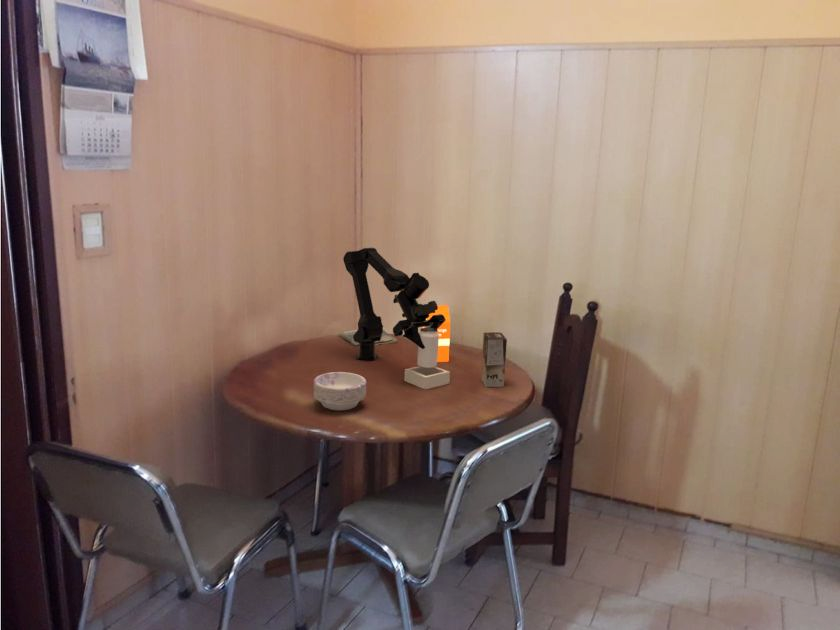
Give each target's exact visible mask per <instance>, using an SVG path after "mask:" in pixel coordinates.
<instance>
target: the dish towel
mask: <svg viewBox="0 0 840 630" xmlns="http://www.w3.org/2000/svg"><path fill="white" fill-rule="evenodd" d="M357 330H358V329H354V330H347V331H342V332H339V334H338V336H339V337H340V338H341V337H342V338H341V339H343V340H344V339H345V340H344V341H346V342H347V341H348V342H347V343H349V342H350V343H351V344H350V343H349V344H350V345H352V344H353V345H352V346H354V347H356V348H359V347H358V346H359V343H357V342H354V338H353V335H354V334H355V333H356V331H357ZM396 342H397V343H398V340H397V338H396V337H394V336H392V335H391V334H390V333H388V332H386V330H384V329H383V333H382V336H381V340H380V341H375V346H380V345H379V344H382V345H389V343H391V344H397V343H396Z"/></svg>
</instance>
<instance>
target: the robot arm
mask: <svg viewBox="0 0 840 630" xmlns="http://www.w3.org/2000/svg"><path fill="white" fill-rule="evenodd" d="M342 261H343V262H344V263H343V264H344V266H345V270H346V271H347V272H348V273H349V275H350V276H351V277H352V283H353V287H354V292H355V294H356V295H355V296H356V300H357V305H358V310H359V319H358V321H357V328H358V329H356V330H357V331H356V333H355V334H354V335H353V338H354V342H357V343H359V347H358V355H356V358H355V359H356V360H363V361H374V360H375V359H376V358H377V357H378V354H376V351H375V350H376V345H375V341H380V340H381V336H382V333H383V330H384V325H383V323H382V322H383V321H382V317H381V316H380V315H377V314H376V313H375V311H374V306H373V301H372V297H371V292H370V287H369V283H368V278H367V272H368V269H369V265H370V266H371V267H372V268H373V269H374V271H376V273H377V274H378V275H380V277H381V278H382V279H383V284H384V286H385V287H386V289H387V291H388V292H390V293H396V292H398V294H394V298H393V301H392V303H393V304H396V303H397V304H398V305H399V307H400V308H401V311H402V314H401V316H402V318H406V319H402V320H399V321H398V322H397V323H396V324H395V325H394V326H393V328H392V333H393V335H394V336H395V337H394V338H396V337H400V336H402V337H403V338H406V339H407V340H409V341H411V342H412V343H414V344H415V345H416V346H417V347H418V346H419V347H420V348H422V349H424V348H425V346H424V344H423V342H422V340H421V337H420V335H419V333H420V331H419V328H421V327H426V328H435V329H438V328H439V327H440V326H441V325H442V324H443V323H444V322H445V321H446V319H445V317H444V315H442V314H438V315H433V316H432V317H431V318H430V319H429V320H426V318H428V317H429V314H431V313H435V310H438V306H437V305H438V304H437V302H436V300H430V301H428V303H425V304H424V303H423V304H422V303H419V302H418V300H419V299H420V298H421V297H422V296H423V295H424V293H425V292H426V291H427V290H428V289H429V288H430V282H429V280H428V279H427V278H426V277H425V276H423V275H420V273H419V272H413V273H412V274H411V276H410V277H409V275H408V274H407V273H405V272H403V271H402V270H399V269H397V268H394V266H392V265H391V264H390V262H388V261H387V260H386V259H385V258H384V257H383V256H382V255H381V254H380V253H379V252H378V250H377V248H374V247H363V248H362V249H359V250H349V251H346V253H345V254H344V256H343V260H342ZM417 299H418V300H417Z"/></svg>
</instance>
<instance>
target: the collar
mask: <svg viewBox="0 0 840 630" xmlns="http://www.w3.org/2000/svg"><path fill="white" fill-rule="evenodd" d="M450 376H451V372H450V371H449V370H446V369H443V368H441V367H438V366H436V367H434V368H422V367H419V366H418V365H416V366H413V367H410V368H405V369H404V382H407V383H408V384H411V385H414V386H416V387H418V388H420V389H423V390H429V389H433V388H437V387H441V386H444V385H449V384H450V382H451V381H450V378H451V377H450Z"/></svg>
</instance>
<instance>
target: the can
mask: <svg viewBox="0 0 840 630" xmlns="http://www.w3.org/2000/svg"><path fill="white" fill-rule="evenodd" d="M437 331H438V330H437V329H435V328H421V327H420V330H419V335H420V337H421V340H422V342H423V344H424V346H425V348H424V349H422V348H420V347H419V346H418V345H417V360H416V361H417V366H419V367H422V368H434V367H438V362H437V359H438V340H439V334H438V332H437Z"/></svg>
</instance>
